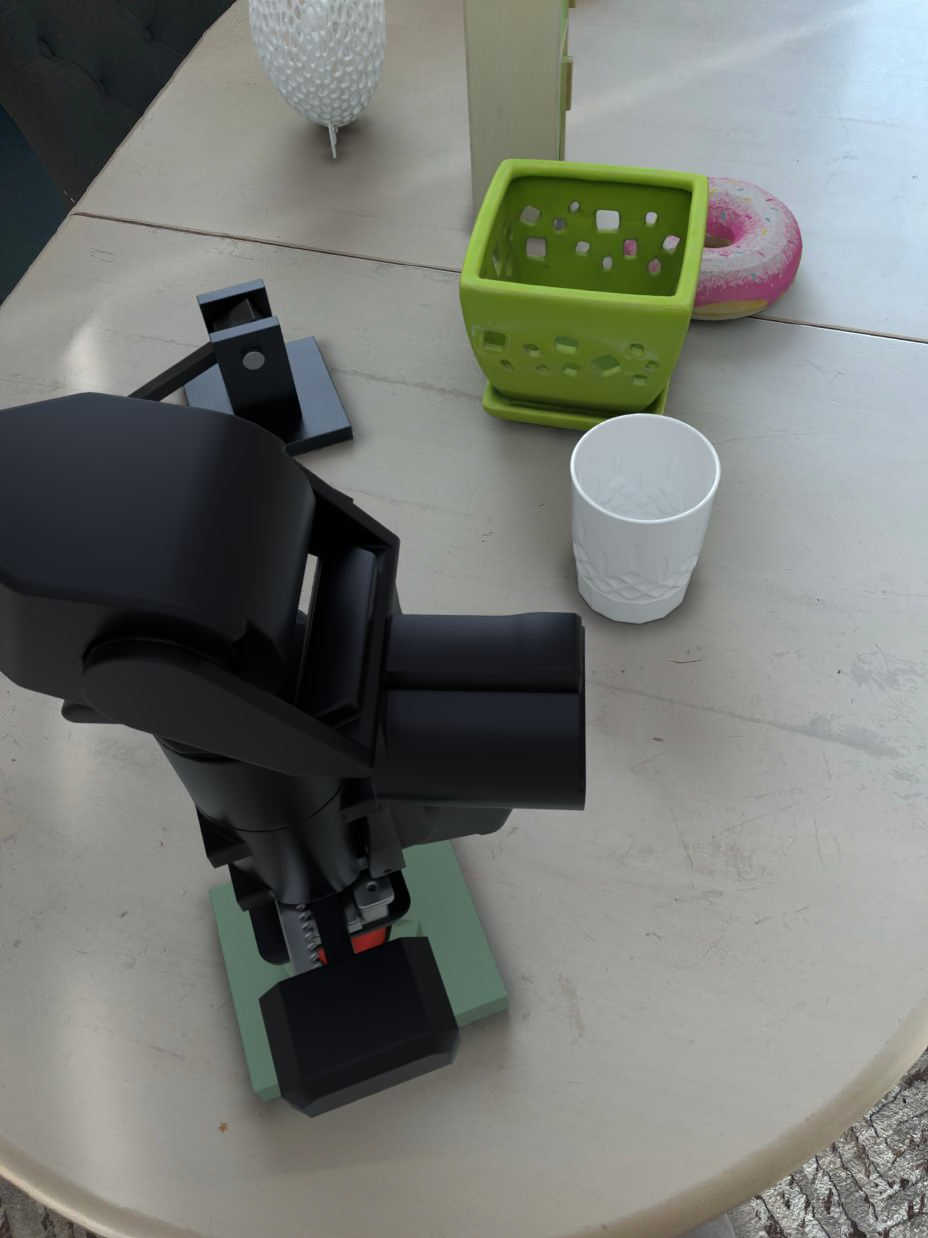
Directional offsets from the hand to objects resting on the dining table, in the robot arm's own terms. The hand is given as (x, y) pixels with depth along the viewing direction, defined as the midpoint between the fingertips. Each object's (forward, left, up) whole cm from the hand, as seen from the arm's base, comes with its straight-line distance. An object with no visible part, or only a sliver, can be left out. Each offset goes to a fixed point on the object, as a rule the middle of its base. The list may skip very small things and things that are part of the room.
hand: (341, 914), depth 47 cm
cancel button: (0, 0, -2) cm, 2 cm away
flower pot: (+26, +33, -6) cm, 42 cm away
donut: (+39, +40, -6) cm, 56 cm away
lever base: (+4, +39, -6) cm, 40 cm away
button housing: (0, 0, -6) cm, 6 cm away
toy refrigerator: (+30, +54, -6) cm, 62 cm away
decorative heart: (+19, +72, -6) cm, 75 cm away
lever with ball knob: (0, +39, -2) cm, 39 cm away
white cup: (+22, +16, -6) cm, 28 cm away
